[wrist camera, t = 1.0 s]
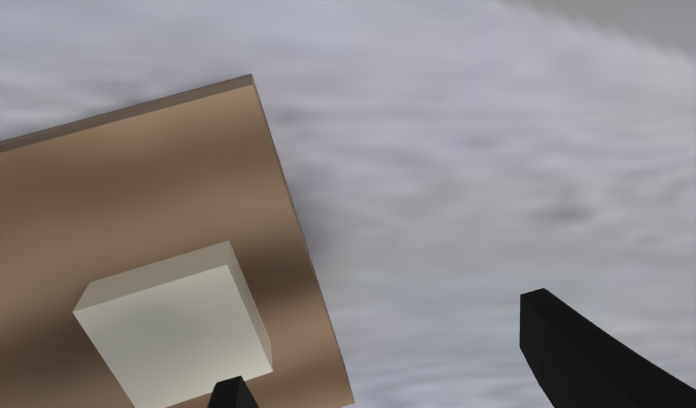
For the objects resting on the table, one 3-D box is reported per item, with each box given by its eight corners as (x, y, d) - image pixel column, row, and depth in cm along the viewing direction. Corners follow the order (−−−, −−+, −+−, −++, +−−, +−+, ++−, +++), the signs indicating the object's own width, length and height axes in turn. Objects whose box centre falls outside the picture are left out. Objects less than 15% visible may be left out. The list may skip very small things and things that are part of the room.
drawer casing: (344, 363, 27) (354, 402, 24) (85, 451, 26) (66, 502, 23) (251, 74, 19) (252, 84, 16) (-132, 176, 18) (-199, 206, 15)
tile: (270, 341, 21) (272, 371, 20) (149, 381, 21) (140, 415, 19) (229, 240, 19) (227, 264, 17) (89, 282, 18) (72, 312, 16)
